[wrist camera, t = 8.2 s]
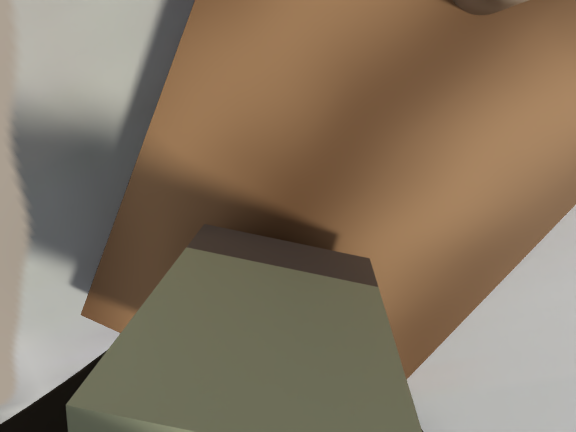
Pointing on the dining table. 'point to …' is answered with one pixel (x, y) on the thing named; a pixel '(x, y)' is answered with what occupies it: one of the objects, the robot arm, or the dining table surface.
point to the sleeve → (252, 347)
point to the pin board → (359, 147)
